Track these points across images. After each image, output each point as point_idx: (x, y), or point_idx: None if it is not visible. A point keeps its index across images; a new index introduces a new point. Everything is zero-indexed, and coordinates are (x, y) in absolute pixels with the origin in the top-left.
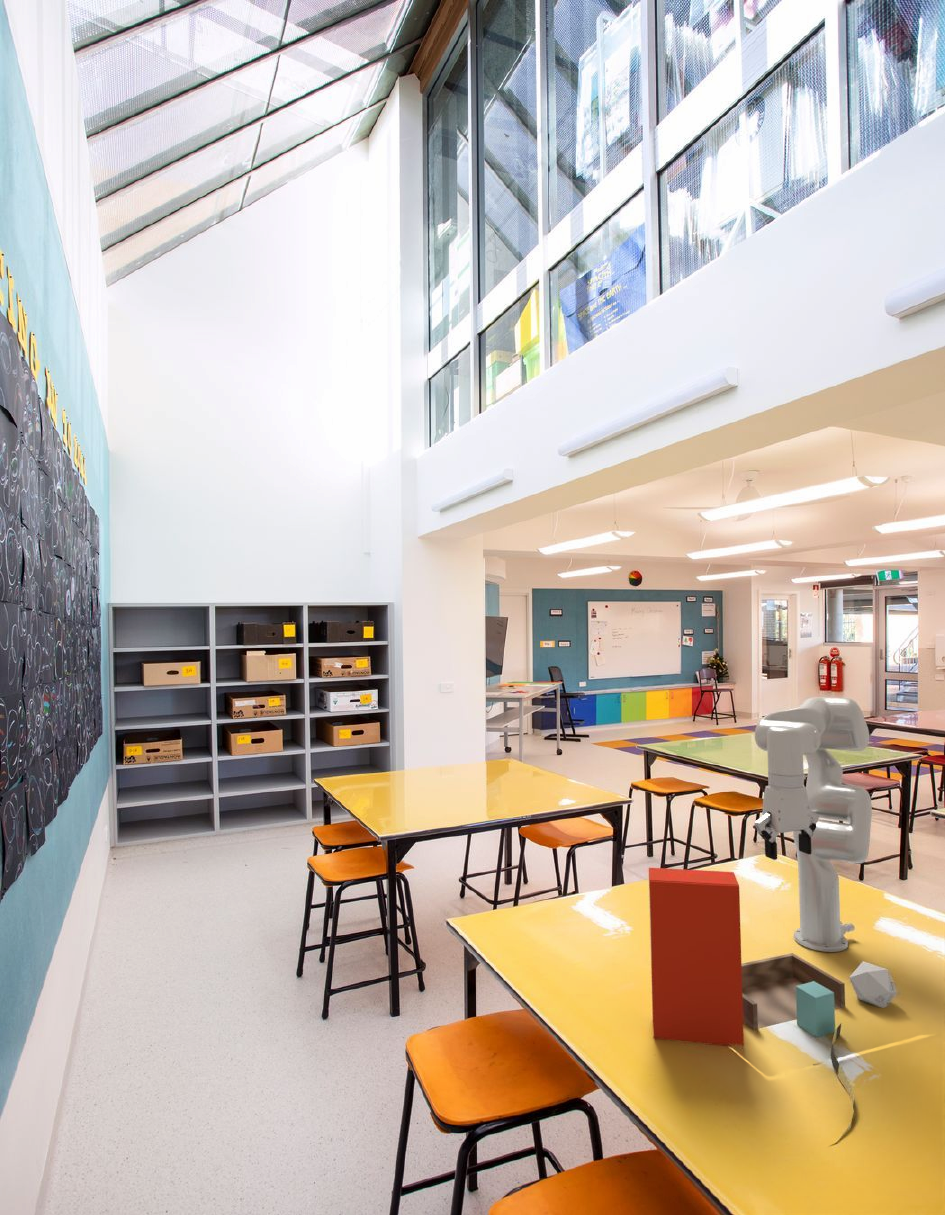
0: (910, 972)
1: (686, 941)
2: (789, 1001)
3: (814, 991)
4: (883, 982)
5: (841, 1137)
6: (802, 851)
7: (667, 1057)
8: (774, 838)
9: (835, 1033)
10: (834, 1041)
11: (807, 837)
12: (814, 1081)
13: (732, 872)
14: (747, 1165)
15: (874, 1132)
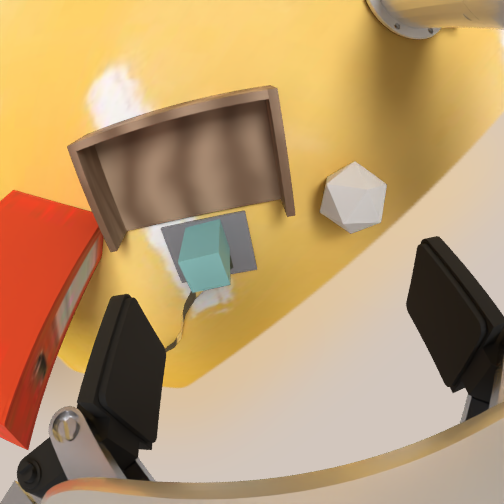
0: (453, 131)
1: None
2: (207, 170)
3: (200, 279)
4: (354, 229)
5: None
6: (414, 270)
7: None
8: (137, 470)
9: None
10: None
11: (455, 383)
12: (158, 309)
13: (2, 425)
14: (83, 357)
15: (179, 354)
